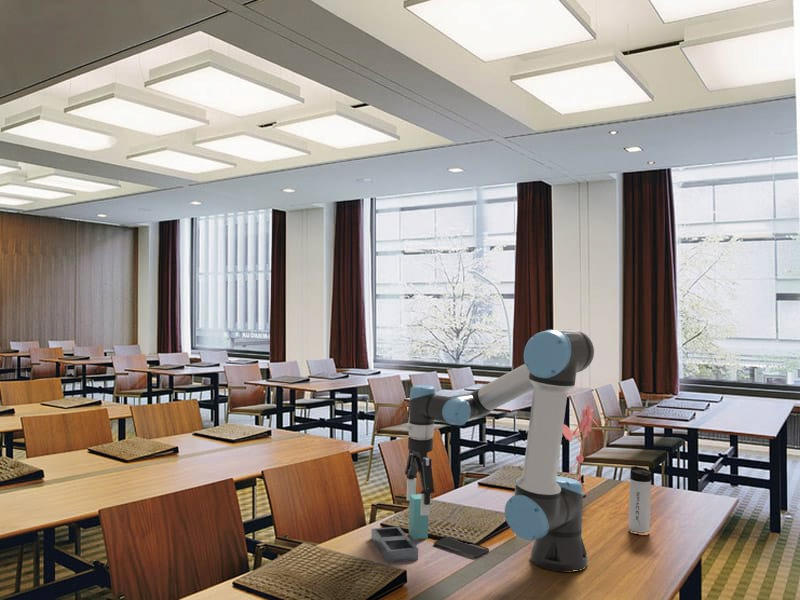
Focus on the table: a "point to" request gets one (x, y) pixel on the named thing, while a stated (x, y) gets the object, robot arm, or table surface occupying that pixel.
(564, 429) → the pink flower branch
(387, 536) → the grey hollow block
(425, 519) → the square peg
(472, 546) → the phone
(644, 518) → the travel mug
